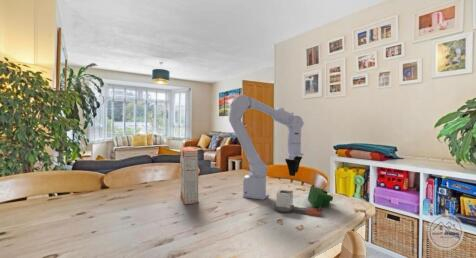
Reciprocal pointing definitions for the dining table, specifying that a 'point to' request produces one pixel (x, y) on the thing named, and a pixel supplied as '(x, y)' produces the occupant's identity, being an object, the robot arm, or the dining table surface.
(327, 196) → the clamp
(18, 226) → the dining table surface
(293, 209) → the ratchet
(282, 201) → the socket
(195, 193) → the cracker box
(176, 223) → the dining table surface
